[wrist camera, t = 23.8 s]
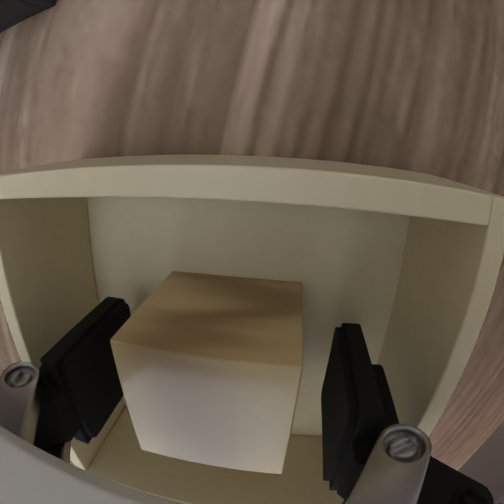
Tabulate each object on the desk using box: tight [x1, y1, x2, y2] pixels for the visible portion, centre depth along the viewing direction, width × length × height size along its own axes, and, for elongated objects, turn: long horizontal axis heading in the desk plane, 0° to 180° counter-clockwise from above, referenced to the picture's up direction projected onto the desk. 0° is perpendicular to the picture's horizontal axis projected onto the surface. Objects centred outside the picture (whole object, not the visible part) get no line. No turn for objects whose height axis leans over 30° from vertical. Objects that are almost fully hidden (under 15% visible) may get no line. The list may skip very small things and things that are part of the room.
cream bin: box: [0, 154, 504, 504], centre depth 9 cm, size 12×12×5 cm
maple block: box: [110, 271, 303, 474], centre depth 9 cm, size 4×4×4 cm
